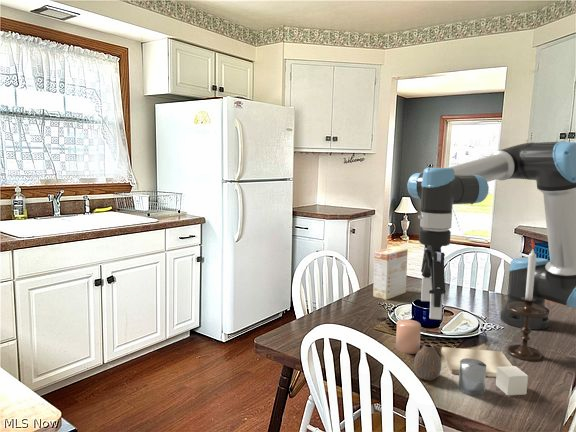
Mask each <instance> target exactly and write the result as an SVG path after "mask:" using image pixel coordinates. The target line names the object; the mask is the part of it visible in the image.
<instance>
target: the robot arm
mask: <svg viewBox="0 0 576 432" xmlns="http://www.w3.org/2000/svg"><path fill="white" fill-rule="evenodd" d="M510 179H511V180H513V179H516V180H531V181H535V183H536V188H537V190H538V191H539V192H540V193H542V194H543V204H544V213H545V222H546V223H545V224H546V233H547V236H546V237H547V244H548V254H549V260H548V259H547V258H541V257H536V264H535V275H534V287H533V298H534V299H536V301H533V303H534V304H538V305H541V306H544V307H546V304H545V302H546V301H548V302H549V301H550V302H554V303H556V304H559V305H564V306H566V307H567V308H573V309H576V142H575V141H547V142H546V141H544V142H543V141H542V142H525V143H520V144H517V145H512V146H509V147H505V148H503V149H499V150H496V151H493V152H492V153H491V154H490V155H489V156H486V157H482V158H478V159H476V160H472V161H469V162H468V161H467V162H463V163H460V164H457V165H453V166H449V167H426V168H424V169H423V172H416V173H413V174H412V175H411V176H410V177H409V179H408V181H407V184H406V186H407V192H408V194H409V195H410V196H411V197H412V198H413V199H414V198H415V199H419V200H420V214H419V215H418V216H417V219H418V220H420V221H419V223H420V224H419V226H420V227H421V228H420V229H419V234H418V235H419V236H418V243H420V244H421V245H423V247H424V250H423V256H422V263H421V269H420V271H421V276H422V279H421V297H420V301H421V302H429V316H428V317H429V319H430V320H439V321H440V320H442V317H443V316H442V313H443V299H444V298H443V297H444V296H443V295H445V294H446V292H447V291H446V278H445V277H446V274H445V272H446V271H445V256H446V255H445V253H444V252H442V247H447V246H449V245H451V234H452V231H450V229H452V220H453V218H452V217H453V205H473V204H478V203H481V202H484V200H486V198H488V197H487V196H488V195H489V182H492V181H495V180H498V181H506V180H510ZM528 260H529V257H519V258H514V259H512V260H511V261H510V266H509V270H508V271H509V272H508V273H509V274H508V287H507V298H506V300H505V302H504V304H503V306H502V308H501V310H500V317H499V318H500V319H501V321H503V322H504V323H506V324H507V325H511V326H513V327H516V328H520V329H521V328H522V327H524V318H525V316H521V315H518V314H515V313H512V312H510V311H509V310H508V309H507V304H508V303H510V302H524V301H525V300H523V299H521V298H522V297H525V294H526V283H527V271H528ZM545 300H546V301H545ZM549 321H550V319H549V316H547V317H543V318H533V317H530V320H529V328H530V329H531V330H544V329H547V328H548V327H549Z"/></svg>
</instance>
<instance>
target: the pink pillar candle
mask: <svg viewBox="0 0 576 432" xmlns="http://www.w3.org/2000/svg"><path fill="white" fill-rule="evenodd" d="M421 328H422V325H421V323H420V322H419V321H417V320H413V319H410V318H409V319H406V318H402V319H399V320H397V321H396V333H395V349H396V350H397V351H398V352H400V353H403V354H409V355H414V354H417V352H418V351H419V350H420V349H421V347H420V346H421V330H422V329H421Z"/></svg>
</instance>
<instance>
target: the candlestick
mask: <svg viewBox="0 0 576 432" xmlns="http://www.w3.org/2000/svg"><path fill="white" fill-rule="evenodd" d="M530 242H531V251H530V253H528V258H529V260H528V271H527V283H526V294H525V297H522V298H521V299H523V300H525V301H524V302H510V303H508V304H507V309H508V310H509V311H510V312H512V313H515V314H518V315H521V316H525V318H524V327H522V328H520V332H521V333H522V335H521V336H520V339H521V341H522V343H521V344H511V345H508V346H507V348H506V352H507V354H508V355H509V356H511V357H512V358H516V359H517V360H521V361H526V362H527V361H528V362H537V361H540V360H541V359H542V355H543V354H542V352H541V351H540V350H538V349H536V348H534V347H531V346H528V343H529V342H528V341H530V340H531V338H530V336H529V335H531V333H532V329H530V328H529V320H530V317H533V318H543V317H547V316H548V317H549V316H550V309H548V308H547V307H546V306H545V307H544V306H541V305H538V304H534V303H533V301H536V299H534V298H533V287H534V275H535V264H536V258H537V254H536V253H535V248H536V245H535V242H534V238H533V237H532V238H531V240H530Z"/></svg>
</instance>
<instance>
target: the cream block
mask: <svg viewBox="0 0 576 432" xmlns="http://www.w3.org/2000/svg"><path fill="white" fill-rule="evenodd" d="M495 379H496V380H495V386H497V388H498V389H500V390H501V391H502V392H503V393H504V394H505V395H506V396H520V395H521V396H522V395H527V393H528V392H527V391H528V380H529V375H528V374H527V373H525V372H524V371H523V370H521V368H519V367H518V366H516V365H512V366H505V367H497V375H496V377H495Z"/></svg>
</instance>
